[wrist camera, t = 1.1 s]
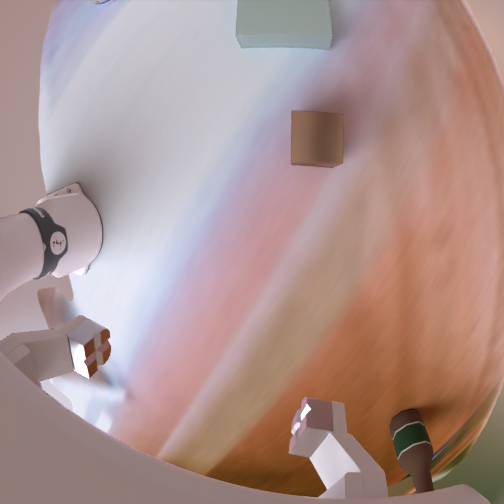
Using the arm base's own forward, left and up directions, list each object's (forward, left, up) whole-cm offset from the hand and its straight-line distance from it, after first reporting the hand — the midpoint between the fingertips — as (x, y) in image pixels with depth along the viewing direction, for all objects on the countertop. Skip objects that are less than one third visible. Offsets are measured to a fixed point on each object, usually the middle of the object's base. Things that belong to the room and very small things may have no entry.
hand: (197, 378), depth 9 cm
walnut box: (+6, +13, -33) cm, 36 cm away
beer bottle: (+34, -41, -33) cm, 63 cm away
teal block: (+2, +37, -34) cm, 50 cm away
